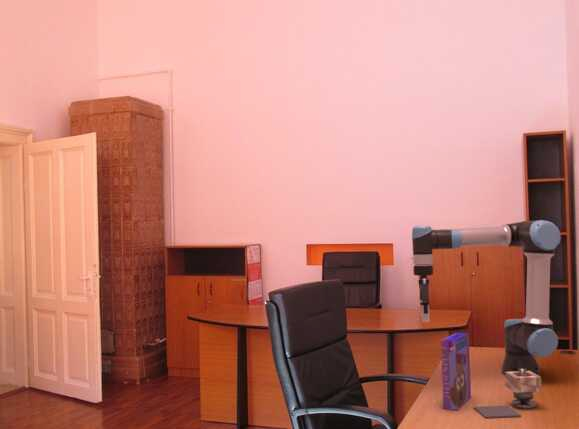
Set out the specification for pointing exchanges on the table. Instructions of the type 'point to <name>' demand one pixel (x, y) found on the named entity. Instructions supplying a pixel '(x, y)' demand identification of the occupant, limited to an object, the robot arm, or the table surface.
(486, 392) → the table surface
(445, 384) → the cereal box
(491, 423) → the table surface
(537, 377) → the square frame
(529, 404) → the steel stand
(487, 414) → the rubber mat
